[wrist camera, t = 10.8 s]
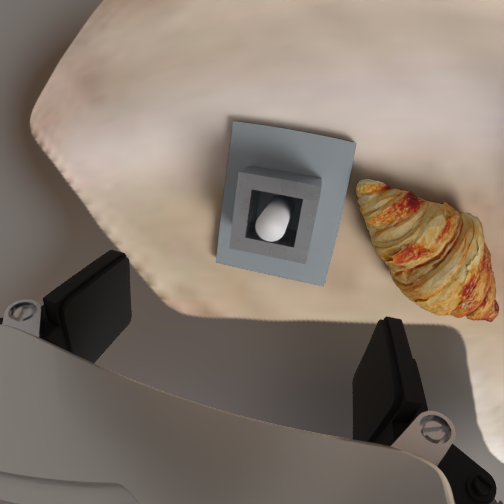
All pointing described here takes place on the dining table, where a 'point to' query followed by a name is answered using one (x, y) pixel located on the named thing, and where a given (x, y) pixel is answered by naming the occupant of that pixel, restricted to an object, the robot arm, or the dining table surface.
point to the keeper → (285, 207)
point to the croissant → (430, 251)
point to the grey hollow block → (246, 209)
